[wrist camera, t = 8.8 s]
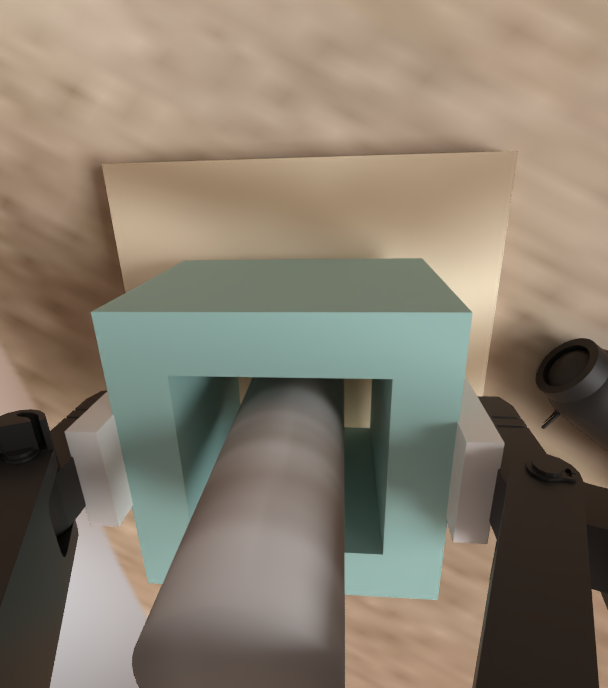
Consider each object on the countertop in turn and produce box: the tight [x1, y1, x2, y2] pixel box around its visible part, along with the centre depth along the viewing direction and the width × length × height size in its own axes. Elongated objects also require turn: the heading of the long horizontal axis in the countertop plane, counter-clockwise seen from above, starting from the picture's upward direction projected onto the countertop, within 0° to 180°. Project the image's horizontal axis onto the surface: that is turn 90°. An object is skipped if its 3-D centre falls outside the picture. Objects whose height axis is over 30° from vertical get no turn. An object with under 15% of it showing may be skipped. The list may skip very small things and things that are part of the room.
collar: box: [91, 258, 473, 600], centre depth 13 cm, size 8×8×6 cm
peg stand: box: [102, 151, 518, 688], centre depth 12 cm, size 14×14×13 cm
